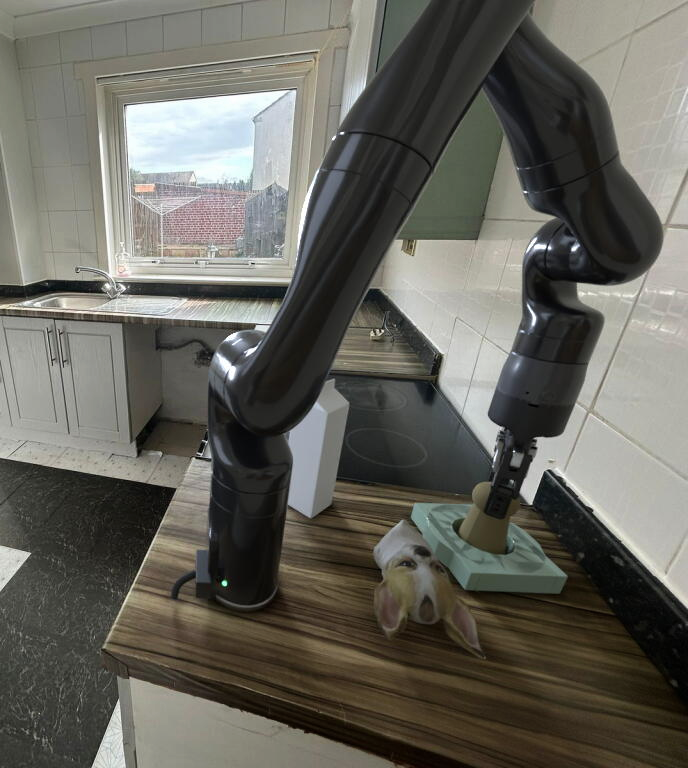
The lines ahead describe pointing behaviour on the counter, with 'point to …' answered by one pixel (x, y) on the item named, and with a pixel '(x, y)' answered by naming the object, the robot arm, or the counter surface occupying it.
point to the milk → (317, 452)
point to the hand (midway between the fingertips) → (495, 499)
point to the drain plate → (487, 554)
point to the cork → (486, 523)
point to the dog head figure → (419, 590)
